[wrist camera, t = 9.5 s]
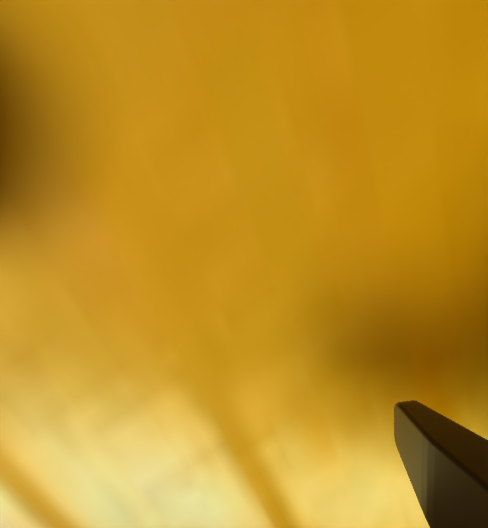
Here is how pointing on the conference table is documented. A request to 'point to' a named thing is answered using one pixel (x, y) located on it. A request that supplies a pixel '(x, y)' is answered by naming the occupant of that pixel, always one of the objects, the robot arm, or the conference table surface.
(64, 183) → the conference table surface
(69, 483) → the conference table surface
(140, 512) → the conference table surface
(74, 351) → the conference table surface
